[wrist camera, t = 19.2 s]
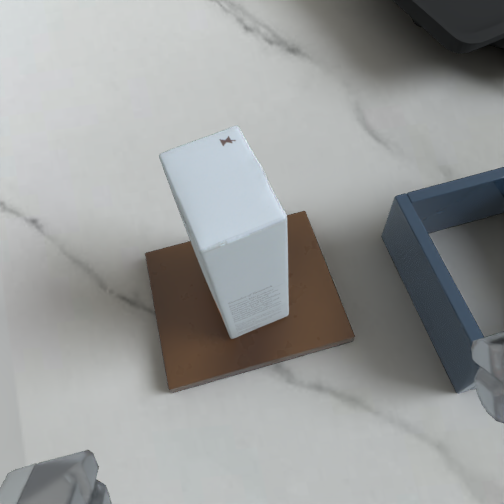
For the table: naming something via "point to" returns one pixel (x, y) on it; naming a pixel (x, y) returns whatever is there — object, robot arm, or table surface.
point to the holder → (441, 262)
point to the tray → (459, 22)
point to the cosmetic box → (232, 227)
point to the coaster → (254, 342)
